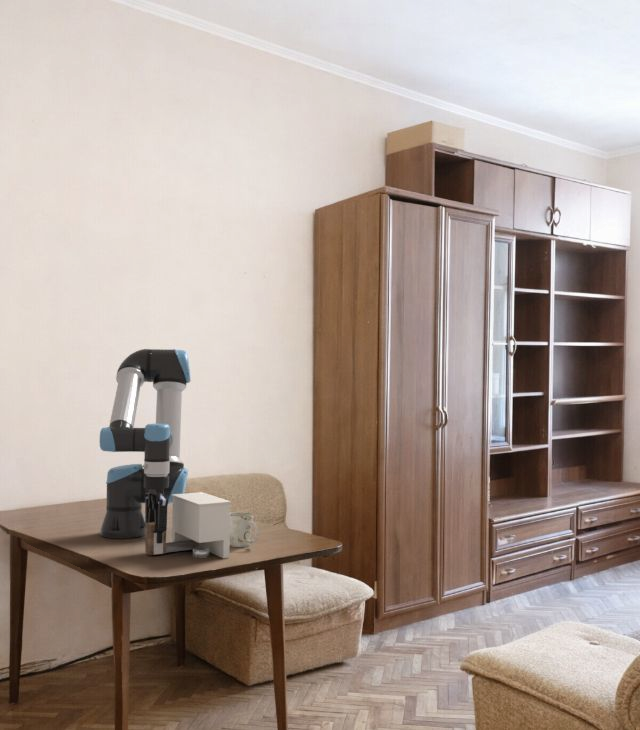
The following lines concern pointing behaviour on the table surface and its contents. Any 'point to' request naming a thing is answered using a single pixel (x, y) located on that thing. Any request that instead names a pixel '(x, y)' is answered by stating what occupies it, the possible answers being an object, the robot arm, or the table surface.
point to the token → (201, 552)
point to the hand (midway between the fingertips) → (155, 551)
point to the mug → (242, 529)
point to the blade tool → (166, 546)
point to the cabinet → (202, 521)
